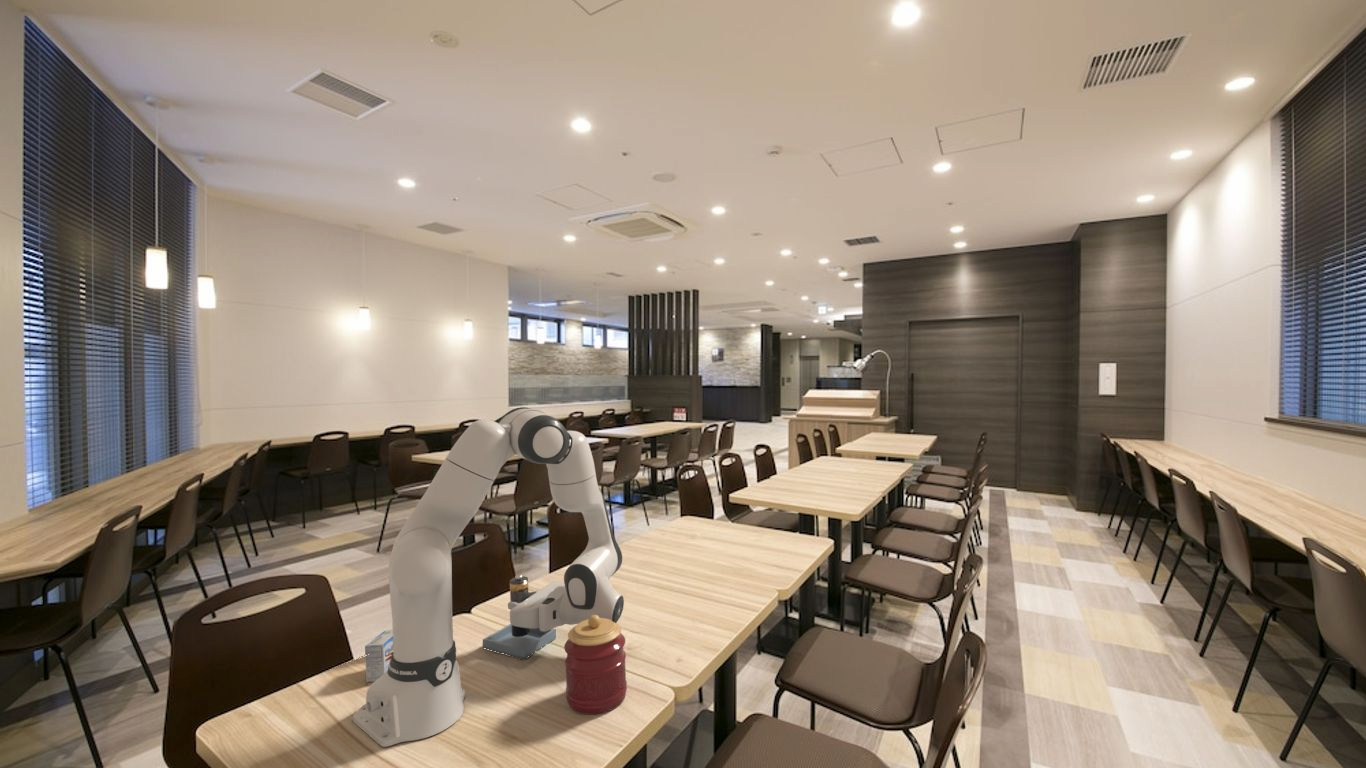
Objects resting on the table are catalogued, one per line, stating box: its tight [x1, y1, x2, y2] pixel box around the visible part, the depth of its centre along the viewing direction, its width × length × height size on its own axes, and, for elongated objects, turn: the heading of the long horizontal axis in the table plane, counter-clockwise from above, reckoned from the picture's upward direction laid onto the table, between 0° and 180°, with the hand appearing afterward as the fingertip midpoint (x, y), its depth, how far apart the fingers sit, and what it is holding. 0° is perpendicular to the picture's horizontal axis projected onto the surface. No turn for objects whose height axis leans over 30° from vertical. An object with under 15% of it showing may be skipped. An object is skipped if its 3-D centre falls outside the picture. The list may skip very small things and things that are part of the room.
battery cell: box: [509, 574, 530, 637], centre depth 139 cm, size 5×5×15 cm
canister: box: [563, 615, 628, 715], centre depth 114 cm, size 13×13×18 cm
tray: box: [482, 623, 557, 661], centre depth 139 cm, size 14×12×2 cm
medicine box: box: [364, 629, 393, 683], centre depth 127 cm, size 8×4×9 cm, turn 179°
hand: (516, 600), depth 140 cm, fingers closed on battery cell, 5 cm apart
